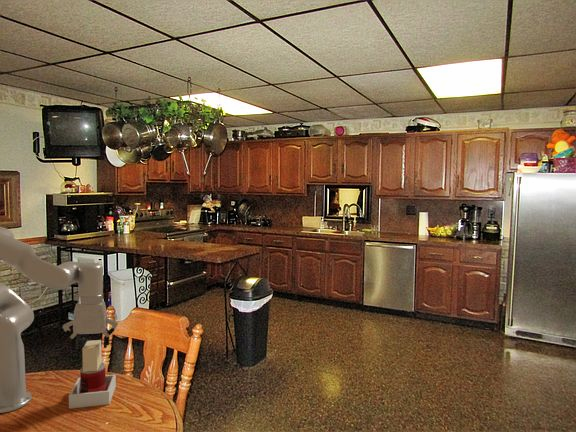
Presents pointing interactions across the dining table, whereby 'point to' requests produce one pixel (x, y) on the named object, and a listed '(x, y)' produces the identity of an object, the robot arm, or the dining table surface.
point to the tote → (92, 394)
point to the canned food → (93, 380)
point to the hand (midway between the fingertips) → (90, 347)
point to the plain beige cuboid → (92, 355)
